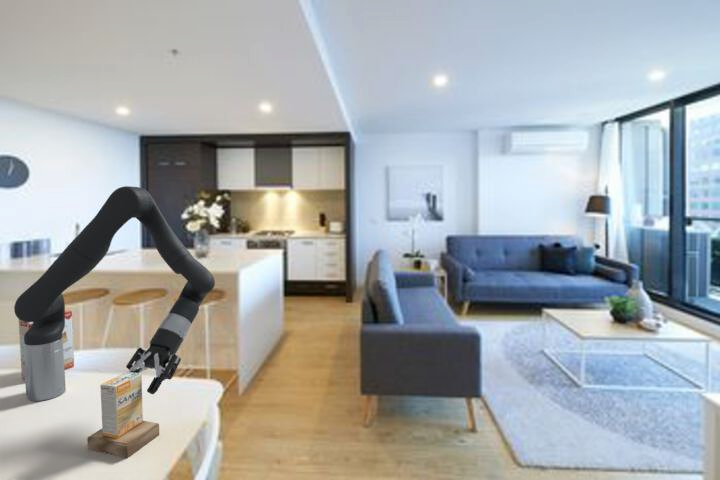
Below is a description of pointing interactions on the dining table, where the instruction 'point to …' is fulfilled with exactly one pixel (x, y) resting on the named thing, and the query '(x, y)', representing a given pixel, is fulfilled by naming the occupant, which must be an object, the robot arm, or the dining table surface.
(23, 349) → the cracker box
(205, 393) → the dining table surface
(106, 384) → the supplement box
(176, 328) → the robot arm
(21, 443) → the dining table surface
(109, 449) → the brown square board
